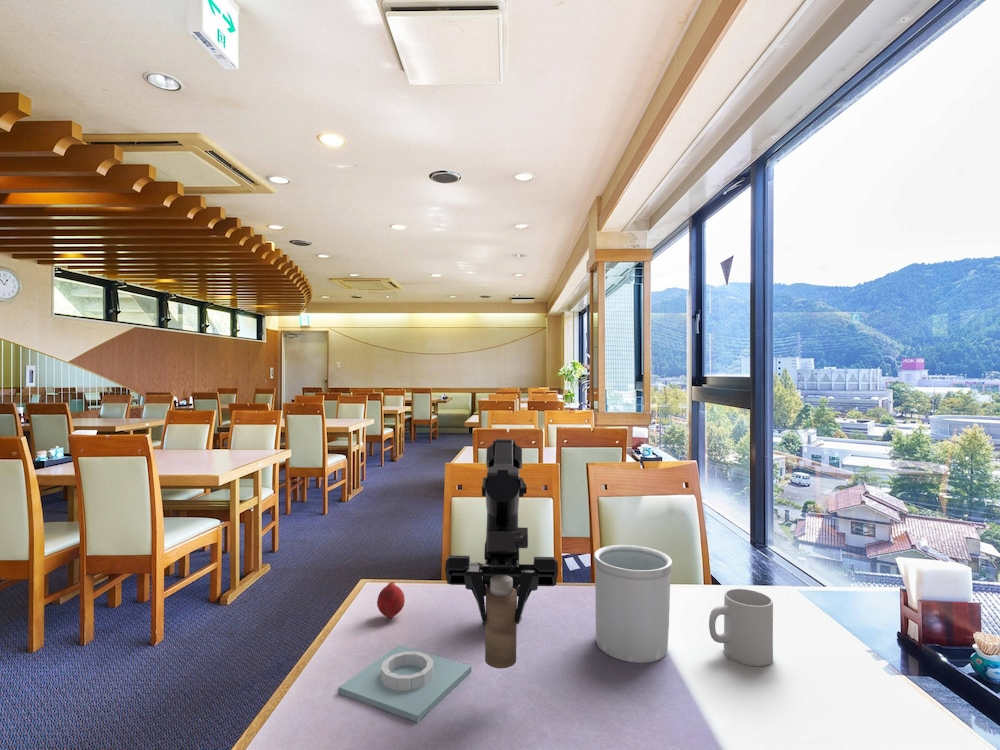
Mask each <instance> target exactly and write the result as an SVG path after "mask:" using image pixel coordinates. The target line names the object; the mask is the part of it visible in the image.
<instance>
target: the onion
mask: <svg viewBox="0 0 1000 750" xmlns="http://www.w3.org/2000/svg"><path fill="white" fill-rule="evenodd" d="M395 583H396V582H395V581H394V580H392V579H391V580H390V581H389V582H388V584H387V585H386V586H385V587H383V588H382V589H381V590H380V592H379V594H378V596H377V601H376V604H377V605H376V606H377V609H378V610H379V612H380V613H381V614H382V615H383V616H384V617H386V618H388V619H393V618H395V616H397V615H398V614H400V612H401V611H402V610H403V608H404V606H405V602H406V601H405V593H404V591H403V590H402V589H401V588H400V587H399V586H397V585H396V584H395Z"/></svg>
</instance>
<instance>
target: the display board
mask: <svg viewBox="0 0 1000 750" xmlns="http://www.w3.org/2000/svg"><path fill="white" fill-rule="evenodd" d="M470 673H472V665H470V664H466V663H463V662H459V661H456V660H454V659H453V660H452V659H449V658H445V657H442V656H439V655H435V654H432V653H429V652H426V651H423V650H420V649H415V648H412V647H408V646H405V645H401V644H398V645H396V646H395V647H394V648H392V649H391V650H389V651H388V652H387V653H384V655H382V656H380V657H379V658H378V659H376V660H375V661H374V662H372V663H371V664H369V665H368V666H367V667H365V668H363V669H362V670H361V671H359V672H358V673H356V674H355V675H354V676H352V677H351V678H349V679H348V680H346V681H345V682H343V683H342V684H341V685H339V686H338V687H337V688H338V694H340V695H342V696H344V697H348V698H350V699H354V700H355V701H356V700H357V701H359V702H362V703H365V704H367V705H369V706H373V707H375V708H377V709H381V710H383V711H386V712H389V713H391V714H393V715H397V716H399V717H402V718H404V719H407V720H410V721H413V722H416V723H419V722H420V721H421V720H422V719H423V718H424V717H425V716H426V715H427V714H428V713H430V712H431V711H432V710H433V709H434V708H435V707H436V706H437V704H439V703H440V702H441V701H442V700H443V699H445V698H446V696H448V694H450V693H451V691H453V689H454V688H455V687H457V686H458V685H459V684H460V683H461V682H462V681H463V680H464V679H465V678H466V677H468V675H469V674H470Z"/></svg>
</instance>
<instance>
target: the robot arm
mask: <svg viewBox="0 0 1000 750" xmlns="http://www.w3.org/2000/svg"><path fill="white" fill-rule="evenodd" d="M485 456H486V459H485V460H486V462H485V463H486V464H485V465H486V469H487V471H486V476H484V477H483V478H482V486H481V496H482V497H485V504H486V530H485V531H486V535H485V542H484V555H483V557H484V560H485V561H484V563H481V562H476V561H475V562H471V560H470V559H471V558H470V557H471V556H470V555H452V554H451V555H449V556H448V557H447V558H446V560H445V566H444V571H445V572H444V573H445V579H446V583H447V584H448V585H450V586H451V585H452V586H464V587H465V589H466V590H470V591H471V592H472V594H473V596H474V598H475V599H474V600H475V601H476V604H477V608H478V610H479V616H480V618H481V622H482V624H483V625H485V626H486V600H485V597H486V590H487V589H488V588H490V578H491V577H493V576H496V575H506V576H510V577H512V579H513V588H514V589H516V591H517V613H516V624H517V625H519V624H520V623H521V622H520V621H521V620H522V615H523V613H524V609H525V605H526V604H527V602H528V599H529V597H530V595H531V593H532V592H533V591H537V590H538V588H539V587H554V586H557V581H558V575H559V564H558V559H556V557H554V556H533V564H524V563H523V564H522V563H521V564H520V549H528V547H529V528H528V527H521V526H520V527H519V507H520V505H519V503H520V498H524V494H525V495H526V494H527V489H528V488H527V484H526V482H525V481H524V478H523V477H520V470H522V468H523V467H522V466H523V448H522V447H521V446H519V445H518V444H516V439H515V440H513V439H511V438H506V439H505V438H496V439H494V440H493V443H492V444H491V445H489V446H487V448H486V455H485Z"/></svg>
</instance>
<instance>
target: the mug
mask: <svg viewBox="0 0 1000 750" xmlns="http://www.w3.org/2000/svg"><path fill="white" fill-rule="evenodd" d="M723 598H724V599H723V600H724V601H723V602H724V604H723V605H719V606H716V607H714V608H712V610H711V611H710V614H709V617H708V628H709V634H710V637H711V639H712V640H713V641H714V642H716V643H717V644H718V643H719V644H723V651H724V653H725V655H726V657H728V658H729V659H730V660H733V662H734V661H735V663H739V664H742V665H746V666H749V667H750V666H751V667H766V666H769V665H771V664H772V662H773V660H774V644H773V643H774V635H773V634H774V618H773V617H774V601H773V599H772V598H771V597H770V596H768V595H767V594H765V593H763V592H759V591H756V590H752V589H745V588H733V589H732V588H731V589H729V590H726V591H725V592H724V596H723ZM722 615H723V616H724V617H723V622H724V623H723V627H724V628H723V633H717V631H716V622H717V619H718V617H719V616H722Z"/></svg>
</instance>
